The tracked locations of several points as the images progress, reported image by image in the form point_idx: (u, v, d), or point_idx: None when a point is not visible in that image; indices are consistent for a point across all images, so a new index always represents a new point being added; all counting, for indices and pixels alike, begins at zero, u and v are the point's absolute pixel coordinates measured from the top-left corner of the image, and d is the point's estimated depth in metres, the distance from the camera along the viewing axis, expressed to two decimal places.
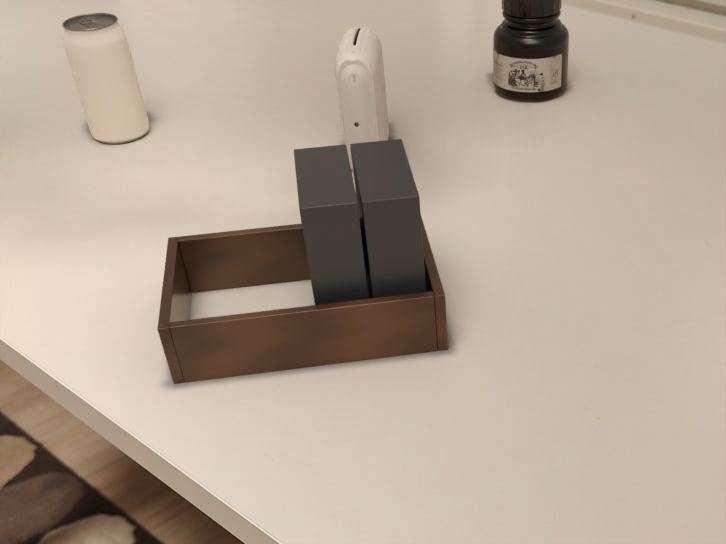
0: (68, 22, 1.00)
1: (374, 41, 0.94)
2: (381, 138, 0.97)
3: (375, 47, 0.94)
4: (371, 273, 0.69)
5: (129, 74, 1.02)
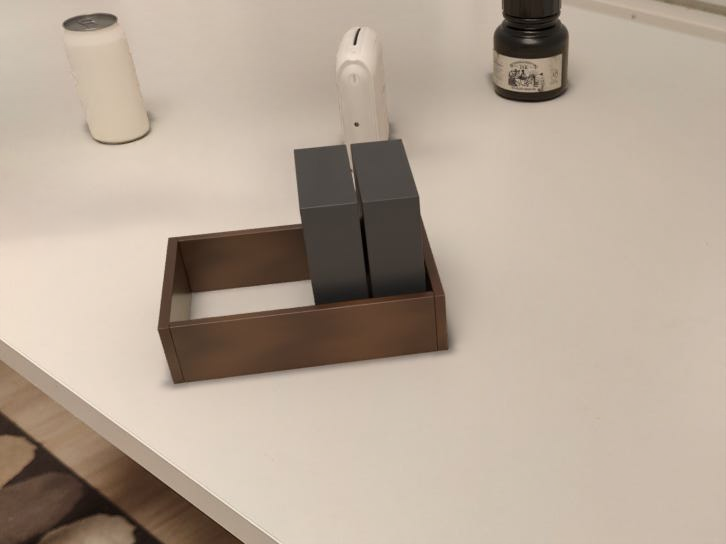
0: (68, 22, 1.00)
1: (374, 41, 0.94)
2: (381, 138, 0.97)
3: (375, 47, 0.94)
4: (371, 273, 0.69)
5: (129, 74, 1.02)
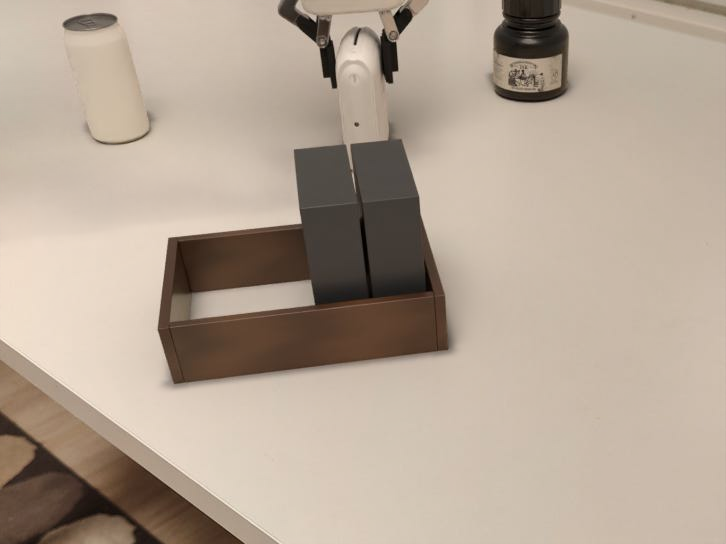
0: (68, 22, 1.00)
1: (374, 41, 0.94)
2: (381, 138, 0.97)
3: (375, 47, 0.94)
4: (371, 273, 0.69)
5: (129, 74, 1.02)
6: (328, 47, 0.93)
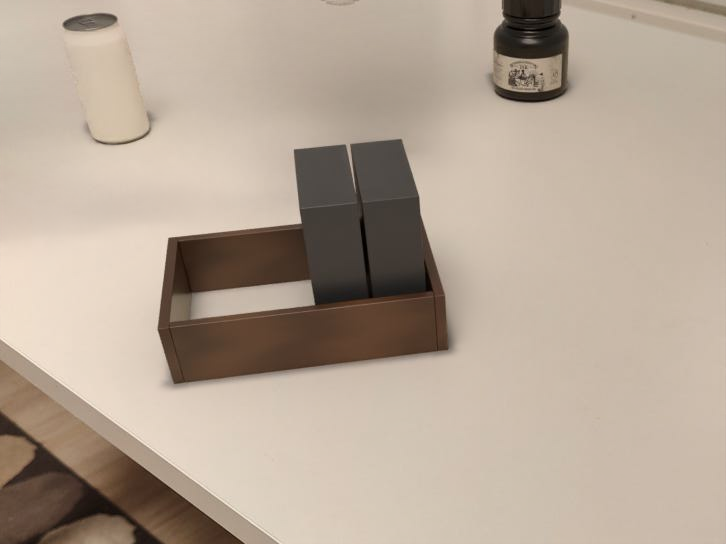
0: (68, 22, 1.00)
1: None
2: None
3: None
4: (371, 273, 0.69)
5: (129, 74, 1.02)
6: None
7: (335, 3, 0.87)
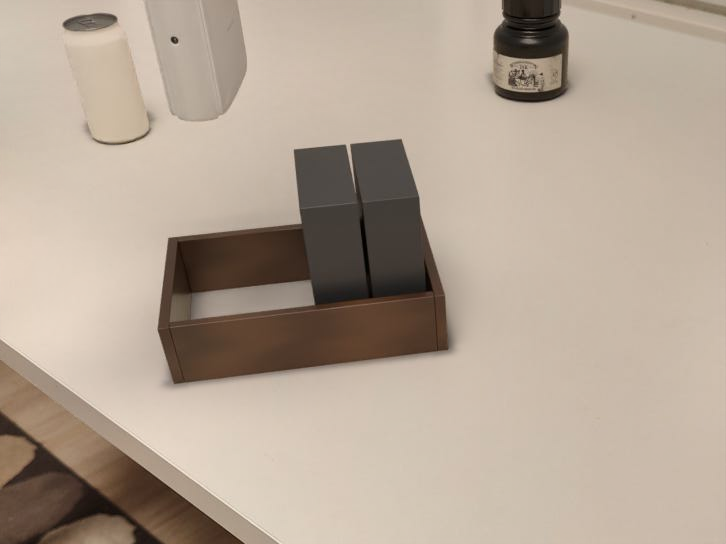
0: (68, 22, 1.00)
1: None
2: (220, 65, 0.61)
3: None
4: (371, 273, 0.69)
5: (129, 74, 1.02)
6: None
7: (190, 119, 0.62)
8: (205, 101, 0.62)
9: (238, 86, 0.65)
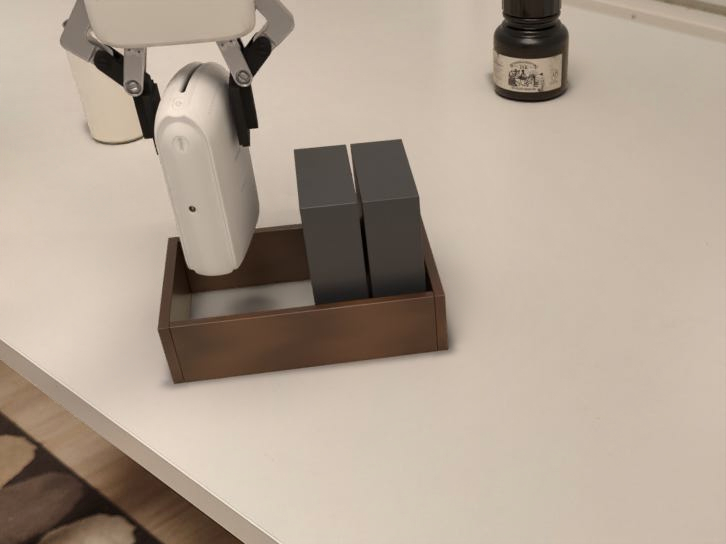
0: None
1: (218, 85, 0.63)
2: (234, 226, 0.66)
3: (218, 94, 0.62)
4: (371, 273, 0.69)
5: None
6: (144, 96, 0.61)
7: (206, 274, 0.67)
8: (220, 259, 0.66)
9: (251, 236, 0.70)
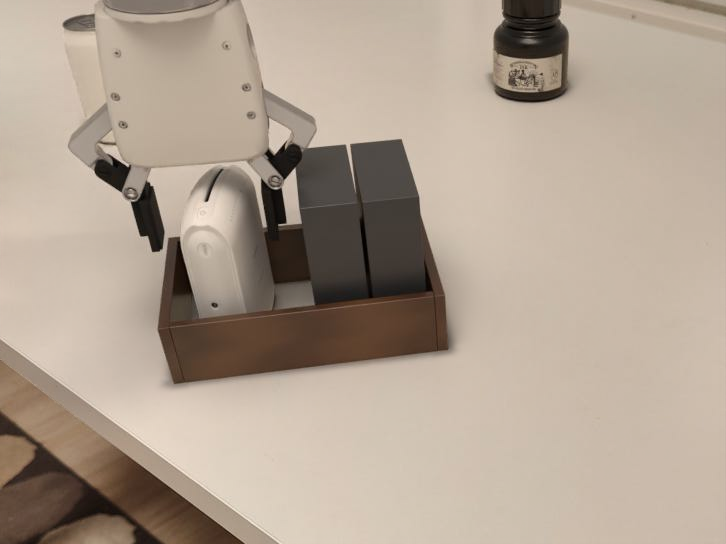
0: (68, 22, 1.00)
1: (238, 191, 0.68)
2: None
3: (239, 200, 0.68)
4: (371, 273, 0.69)
5: None
6: (141, 201, 0.66)
7: None
8: None
9: None
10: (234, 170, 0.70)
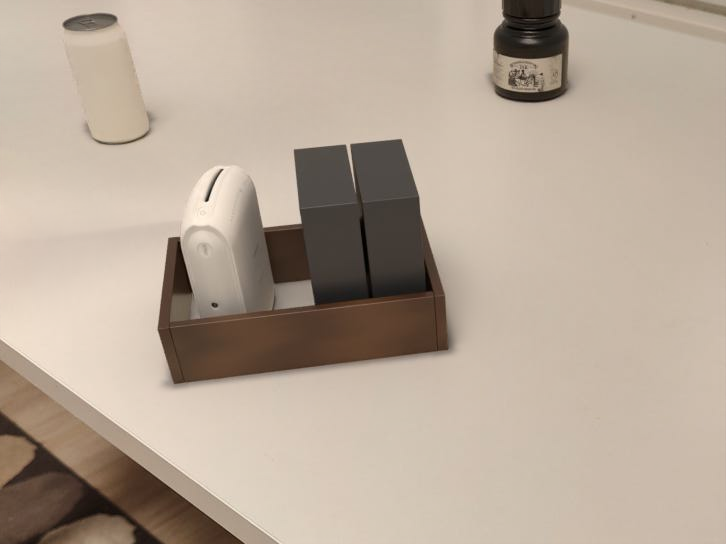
0: (68, 22, 1.00)
1: (238, 191, 0.68)
2: None
3: (239, 200, 0.68)
4: (371, 273, 0.69)
5: (129, 74, 1.02)
6: None
7: None
8: None
9: None
10: (234, 170, 0.70)
